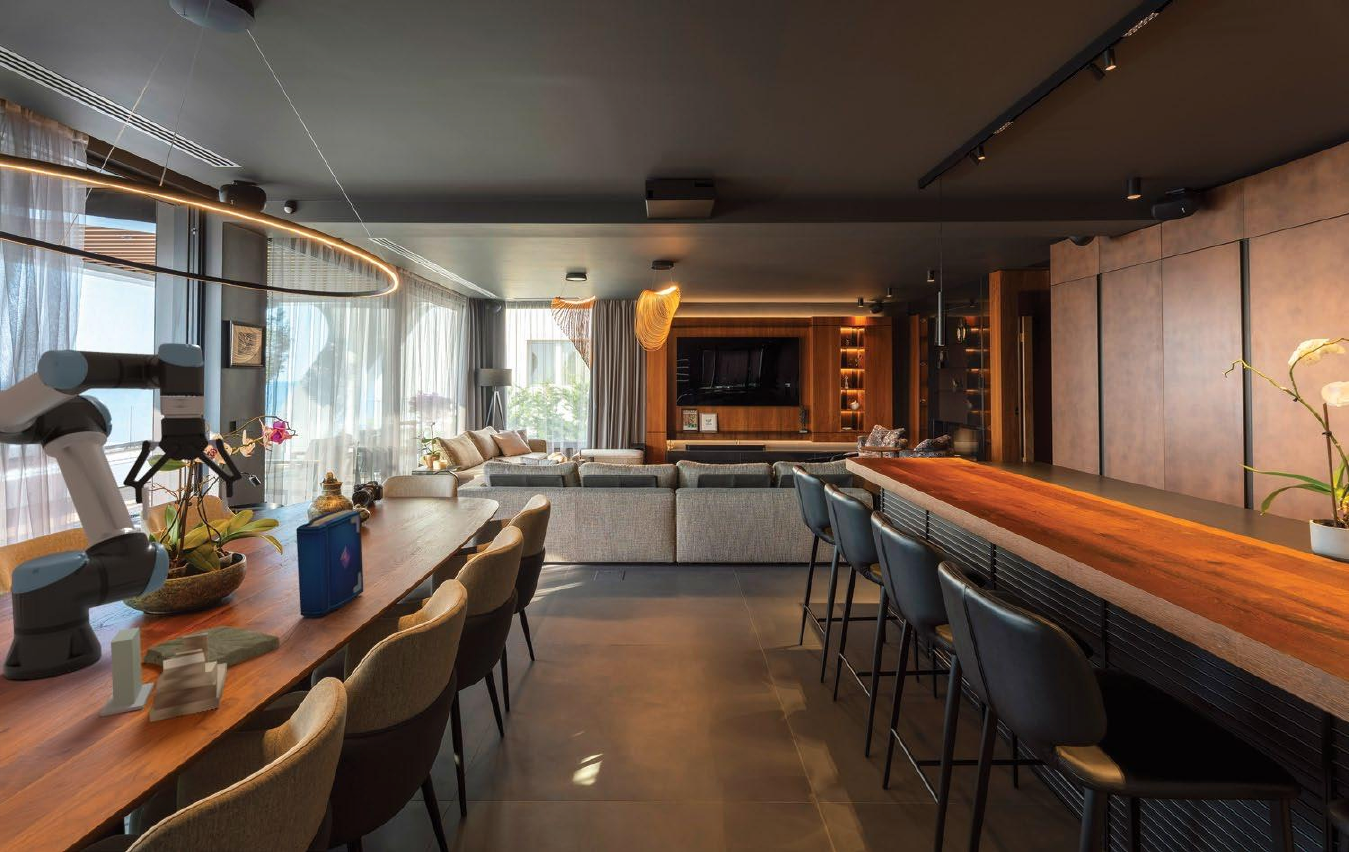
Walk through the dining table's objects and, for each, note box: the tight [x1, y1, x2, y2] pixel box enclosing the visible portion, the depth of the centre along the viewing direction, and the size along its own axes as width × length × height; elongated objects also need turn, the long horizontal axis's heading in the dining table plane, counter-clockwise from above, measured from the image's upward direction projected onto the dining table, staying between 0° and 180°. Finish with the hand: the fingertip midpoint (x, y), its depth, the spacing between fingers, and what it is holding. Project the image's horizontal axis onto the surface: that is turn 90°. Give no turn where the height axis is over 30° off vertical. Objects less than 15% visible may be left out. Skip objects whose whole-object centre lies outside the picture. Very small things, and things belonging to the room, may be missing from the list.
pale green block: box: [110, 627, 143, 707], centre depth 123 cm, size 3×7×12 cm, turn 30°
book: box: [296, 509, 364, 618], centre depth 177 cm, size 22×7×25 cm, turn 179°
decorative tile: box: [142, 625, 280, 668], centre depth 144 cm, size 19×20×4 cm
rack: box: [149, 633, 228, 723], centre depth 125 cm, size 10×18×9 cm, turn 30°
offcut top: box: [162, 653, 205, 681], centre depth 119 cm, size 6×5×2 cm
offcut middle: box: [156, 661, 218, 693], centre depth 120 cm, size 8×5×2 cm, turn 115°
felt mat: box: [99, 682, 155, 718], centre depth 123 cm, size 6×11×1 cm, turn 31°
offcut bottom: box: [153, 676, 217, 711], centre depth 120 cm, size 9×6×2 cm, turn 123°
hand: (186, 515), depth 140 cm, fingers open, 13 cm apart
